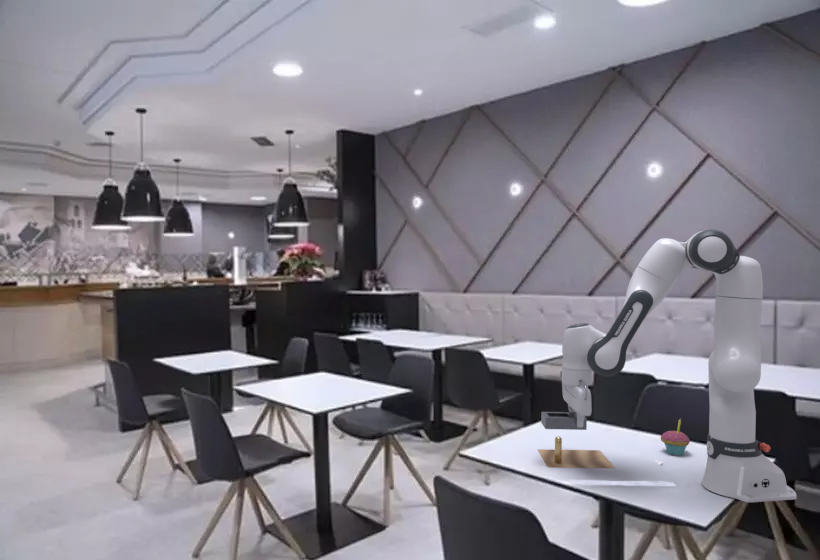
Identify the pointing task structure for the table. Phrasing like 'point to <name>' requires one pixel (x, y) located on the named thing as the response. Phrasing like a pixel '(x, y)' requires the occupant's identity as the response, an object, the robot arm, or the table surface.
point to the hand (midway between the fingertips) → (576, 422)
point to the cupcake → (675, 441)
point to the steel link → (561, 420)
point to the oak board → (576, 459)
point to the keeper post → (558, 450)
